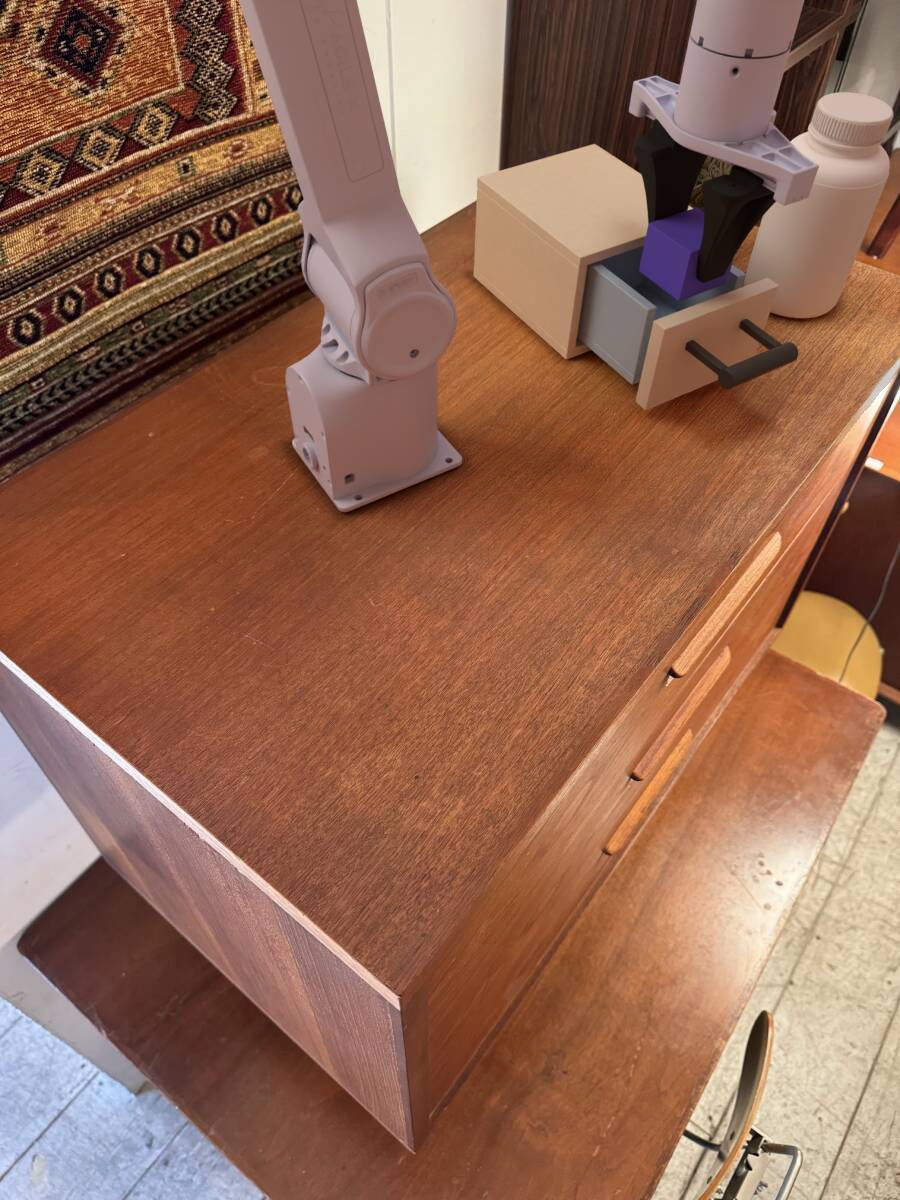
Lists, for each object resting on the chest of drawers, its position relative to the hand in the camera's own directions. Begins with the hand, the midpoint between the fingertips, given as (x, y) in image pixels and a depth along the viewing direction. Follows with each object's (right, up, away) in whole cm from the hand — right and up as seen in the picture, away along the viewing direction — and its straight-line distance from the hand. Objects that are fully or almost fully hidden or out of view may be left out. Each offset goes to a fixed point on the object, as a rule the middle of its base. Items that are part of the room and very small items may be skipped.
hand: (686, 259), depth 60 cm
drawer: (0, -5, +6) cm, 8 cm away
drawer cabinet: (-6, +2, +13) cm, 14 cm away
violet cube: (0, -1, +1) cm, 1 cm away
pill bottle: (+12, +2, +14) cm, 19 cm away
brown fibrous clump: (+4, +7, +18) cm, 19 cm away
